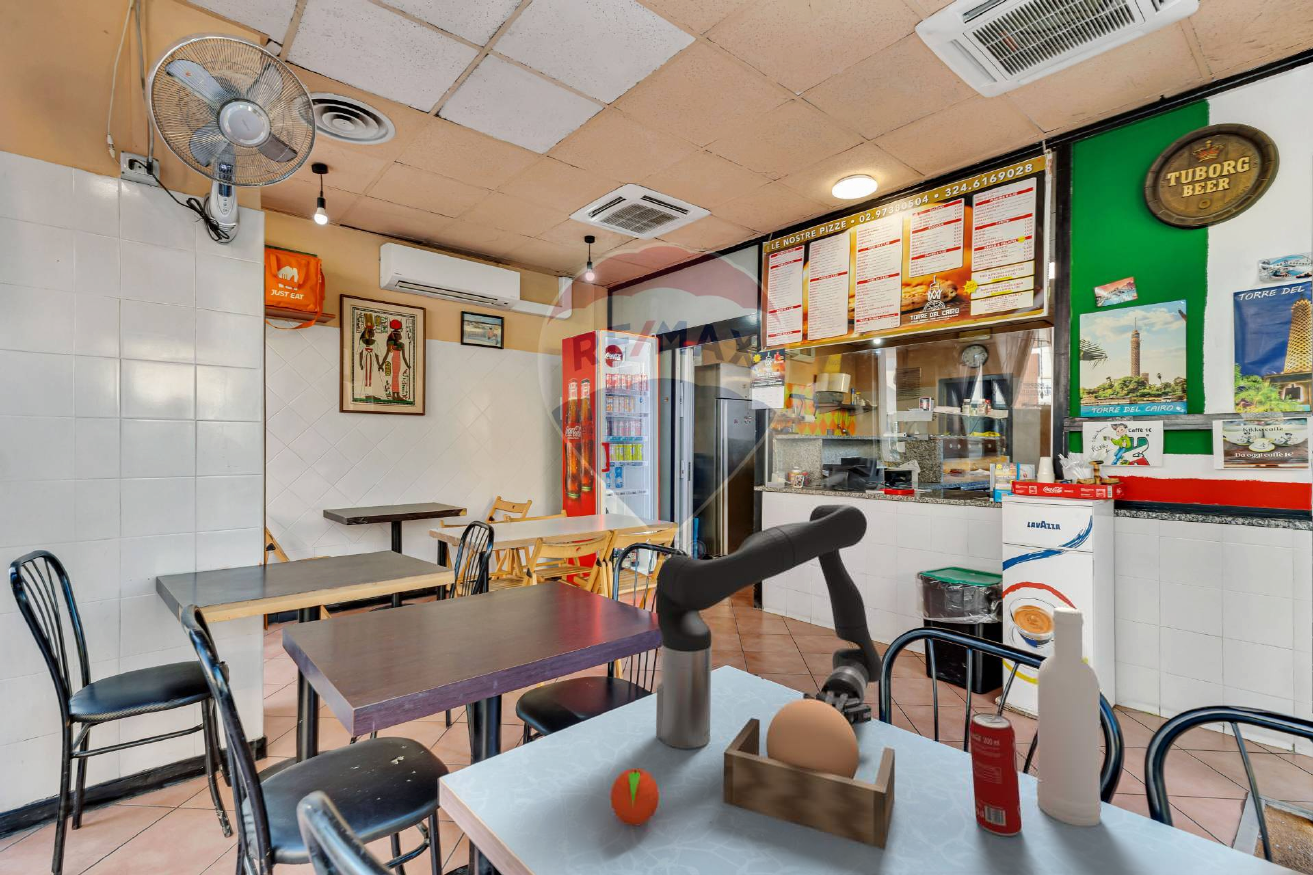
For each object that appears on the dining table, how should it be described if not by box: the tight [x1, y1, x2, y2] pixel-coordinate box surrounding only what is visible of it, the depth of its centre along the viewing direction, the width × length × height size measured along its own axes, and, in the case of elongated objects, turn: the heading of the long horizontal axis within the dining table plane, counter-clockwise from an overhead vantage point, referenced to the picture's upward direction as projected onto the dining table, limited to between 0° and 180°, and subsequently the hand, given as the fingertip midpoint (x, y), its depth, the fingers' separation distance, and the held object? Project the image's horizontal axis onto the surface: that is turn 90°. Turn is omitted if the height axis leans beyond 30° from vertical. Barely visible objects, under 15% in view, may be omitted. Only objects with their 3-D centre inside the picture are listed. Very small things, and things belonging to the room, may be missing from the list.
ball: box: [765, 698, 860, 779], centre depth 94 cm, size 14×14×14 cm
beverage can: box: [969, 712, 1023, 837], centre depth 86 cm, size 6×6×15 cm
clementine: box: [610, 768, 660, 826], centre depth 85 cm, size 8×7×7 cm
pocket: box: [722, 717, 896, 850], centre depth 92 cm, size 23×14×8 cm, turn 63°
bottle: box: [1036, 606, 1102, 828], centre depth 90 cm, size 8×8×30 cm
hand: (827, 725), depth 104 cm, fingers closed
